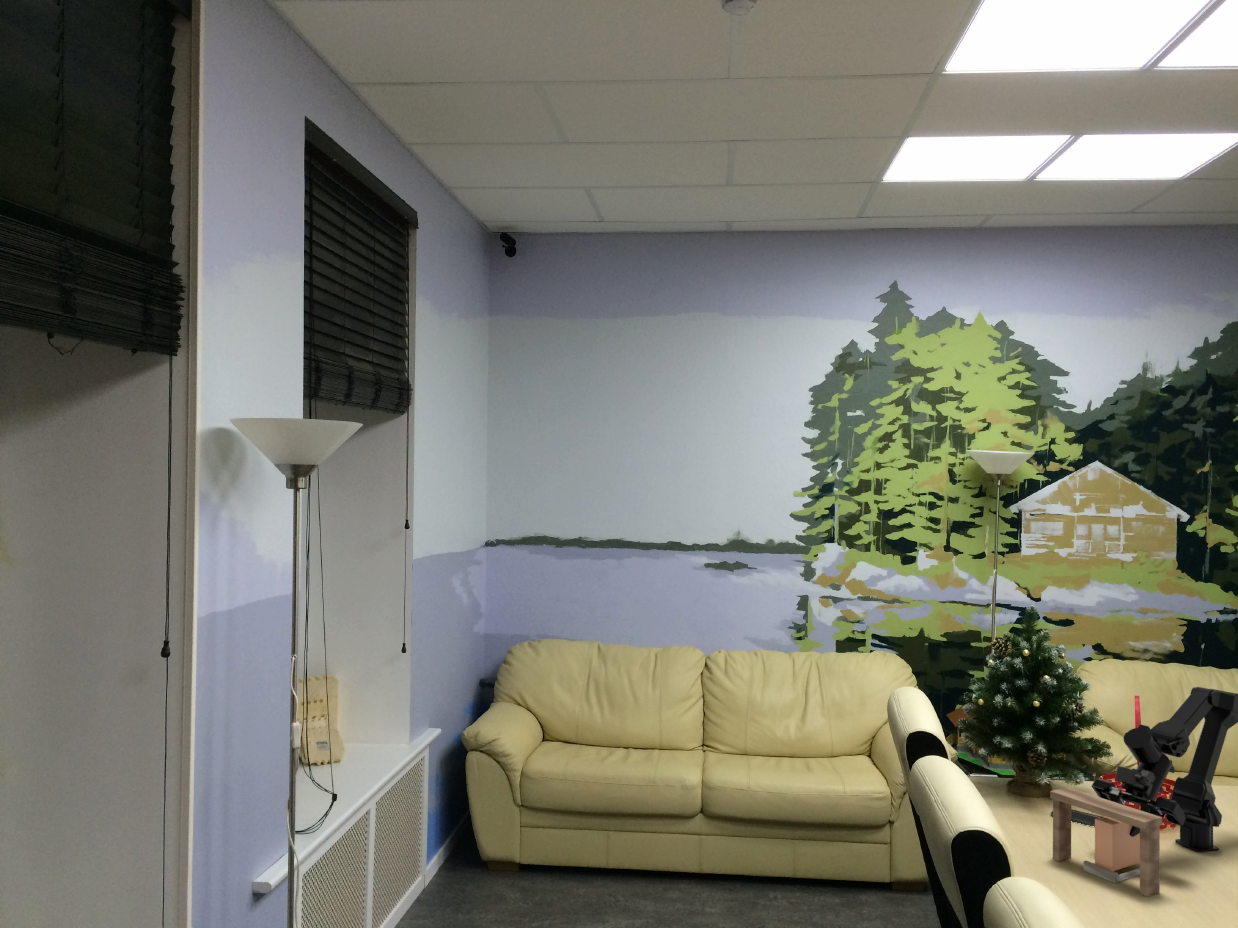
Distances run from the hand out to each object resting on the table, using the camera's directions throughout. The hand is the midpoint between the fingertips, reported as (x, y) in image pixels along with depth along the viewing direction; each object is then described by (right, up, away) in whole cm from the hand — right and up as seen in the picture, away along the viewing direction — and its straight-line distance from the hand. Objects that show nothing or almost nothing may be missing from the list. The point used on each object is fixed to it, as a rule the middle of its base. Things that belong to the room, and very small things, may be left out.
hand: (1121, 831), depth 198 cm
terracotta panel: (-1, -7, -1) cm, 7 cm away
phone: (+8, -10, +30) cm, 33 cm away
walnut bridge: (-3, -8, -2) cm, 9 cm away
